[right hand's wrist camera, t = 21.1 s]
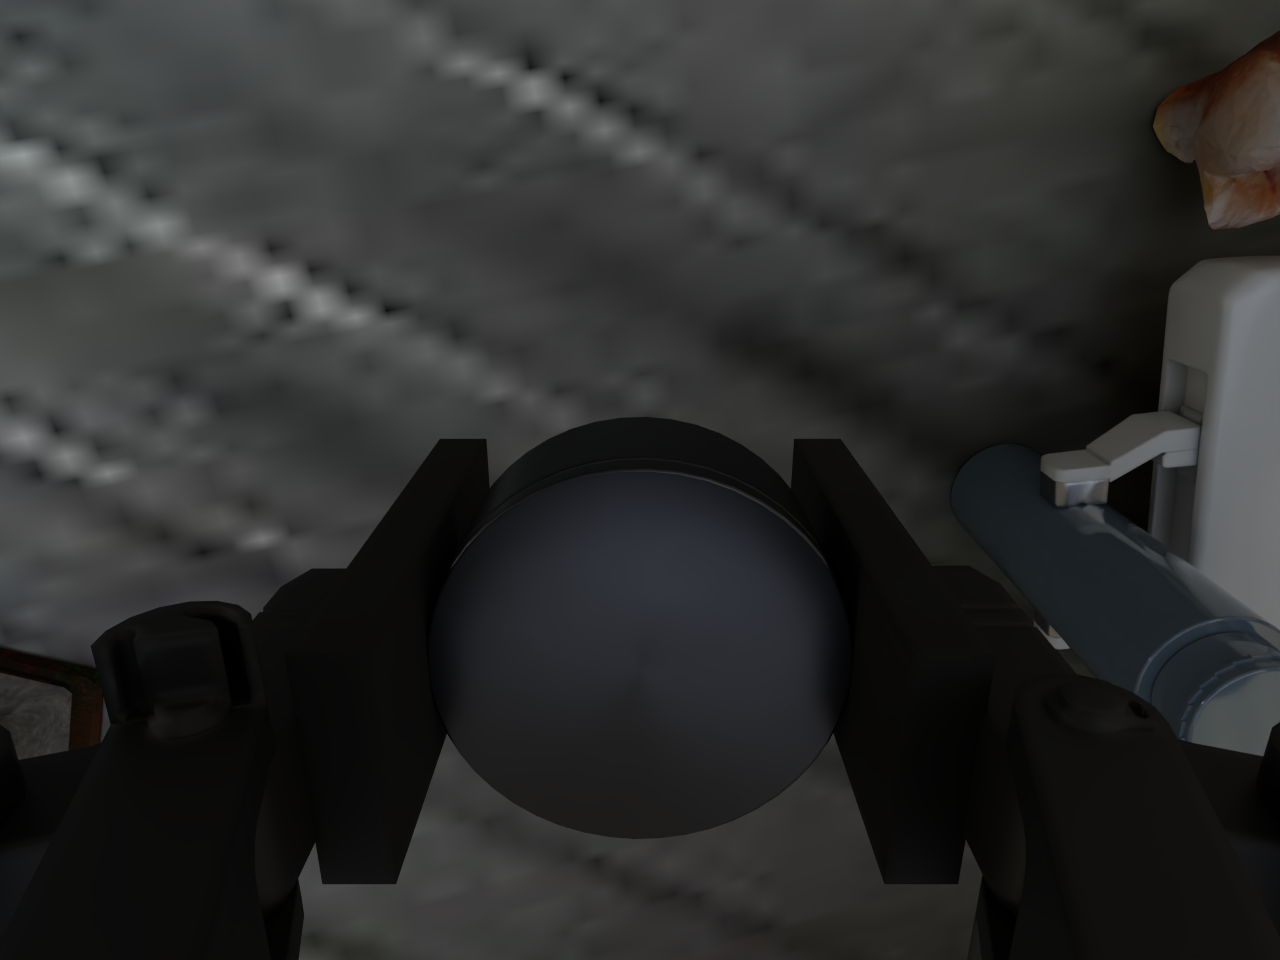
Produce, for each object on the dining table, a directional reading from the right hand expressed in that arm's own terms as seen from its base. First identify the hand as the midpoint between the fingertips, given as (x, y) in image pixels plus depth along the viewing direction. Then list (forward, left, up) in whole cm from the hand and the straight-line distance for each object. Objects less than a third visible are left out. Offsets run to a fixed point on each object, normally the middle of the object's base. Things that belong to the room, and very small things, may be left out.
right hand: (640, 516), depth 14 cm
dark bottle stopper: (0, 0, +4) cm, 4 cm away
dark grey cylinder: (+9, +16, -22) cm, 29 cm away
